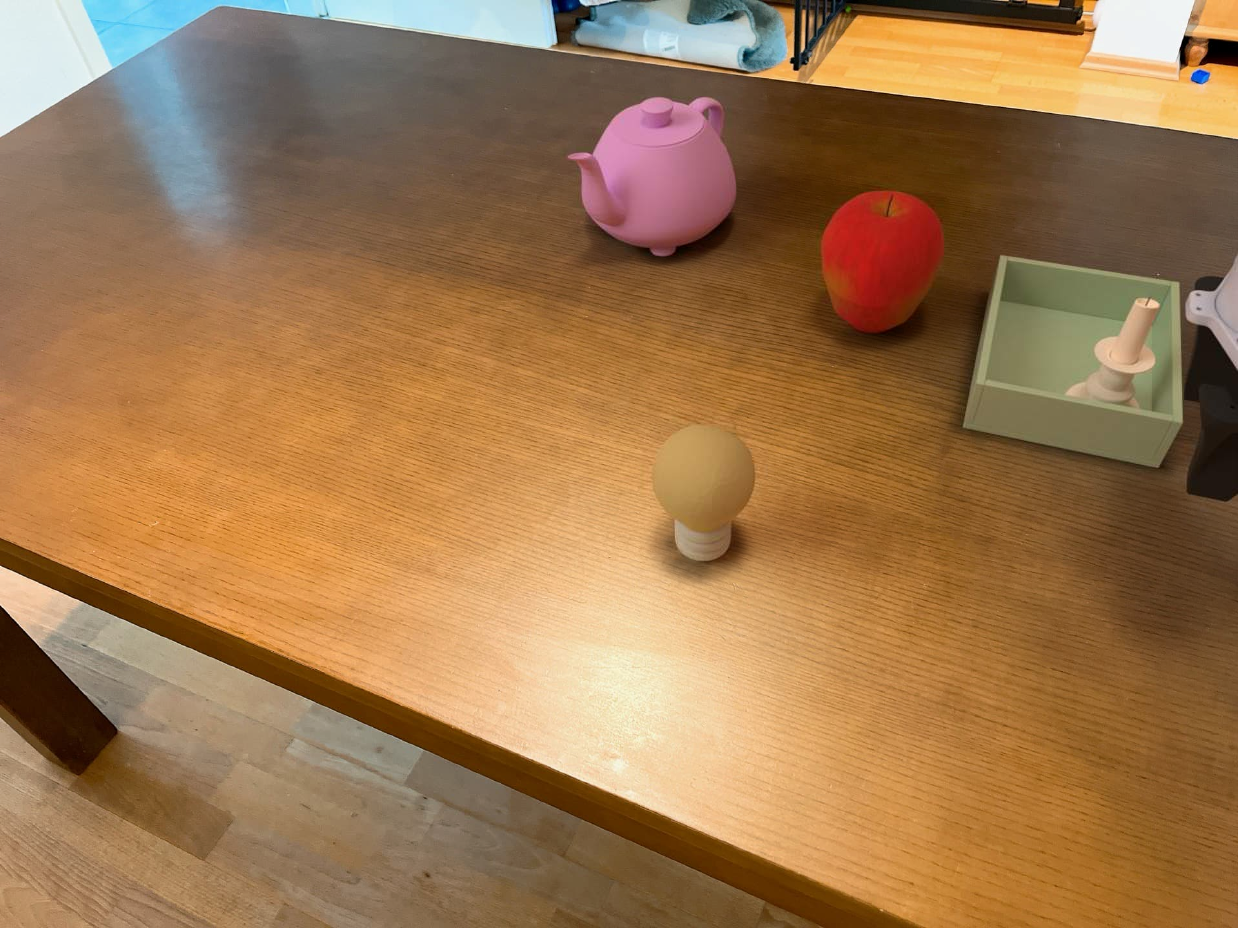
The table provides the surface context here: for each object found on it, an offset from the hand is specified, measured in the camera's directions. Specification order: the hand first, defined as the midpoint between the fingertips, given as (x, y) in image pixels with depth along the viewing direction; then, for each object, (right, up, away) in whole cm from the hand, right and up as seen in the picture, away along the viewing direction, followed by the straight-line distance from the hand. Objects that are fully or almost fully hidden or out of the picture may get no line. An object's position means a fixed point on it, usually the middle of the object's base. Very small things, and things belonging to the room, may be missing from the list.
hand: (1204, 444), depth 52 cm
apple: (-12, +11, +26) cm, 30 cm away
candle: (+3, +3, +16) cm, 17 cm away
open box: (+2, +6, +19) cm, 20 cm away
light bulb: (-27, -7, +11) cm, 30 cm away
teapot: (-30, +21, +37) cm, 52 cm away
